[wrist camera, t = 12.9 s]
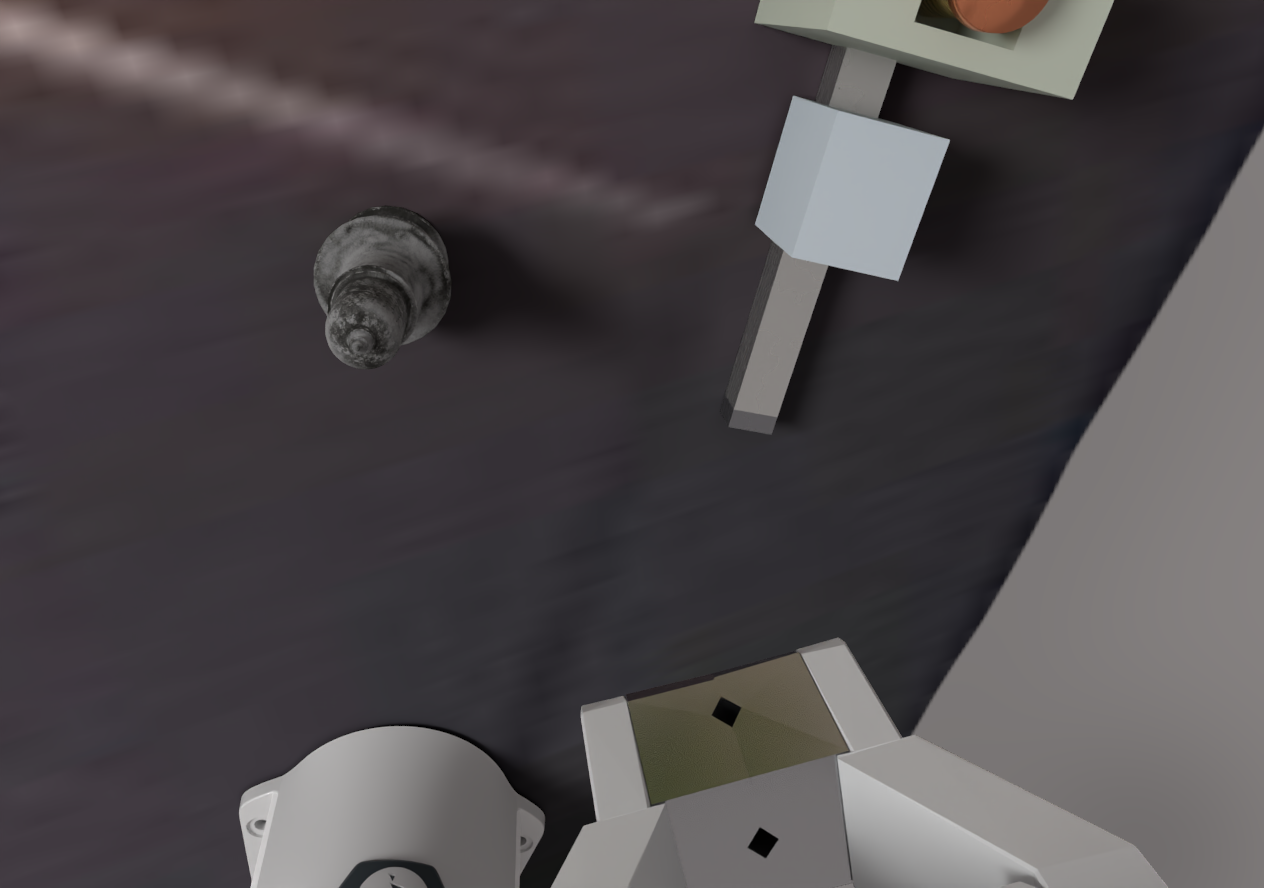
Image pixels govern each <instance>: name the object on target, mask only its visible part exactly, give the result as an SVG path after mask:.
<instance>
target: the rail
mask: <svg viewBox="0 0 1264 888" xmlns="http://www.w3.org/2000/svg"><path fill="white" fill-rule="evenodd" d="M896 62H897V61H896V60H893V59H889V58H886V57H882V56H878V55H875V54H871V53H868V52H864V51H861V50H857V49H853V48H850V47H845V46H838V45H832V47H831V51H830V54H829V57H828V60H827V64H826V67H825V70H824V74H823V77H822V80H821V83H820V87H819V90H818V93H817V96H816V100H815V102H818V103H821V104H824V105H828V106H831V107H835V108H839V109H843V110H847V111H850V112H854V113H858V114H862V115H866V116H869V117H873V118H877V119H878V116H879V113H880V110H881V107H882V104H883V101H884V98H885V95H886V92H887V89H888V86H889V83H890V80H891V77H892V74H893V71H894V68H895V65H896ZM827 268H828V265H824V264H820V263H815V262H811V261H806V260H802V259H797V258H792V257H791V256H790V255H788V254H787V253H786V252H785V251H784V250H783V249H782V248H780V247H779V246H778V245H777V244H776V243H775V242H774V241H773V240H772V243H771V246H770V250H769V253H768V256H767V259H766V263H765V266H764V269H763V272H762V276H761V279H760V282H759V285H758V289H757V292H756V295H755V298H754V302H753V305H752V308H751V311H750V315H749V318H748V321H747V324H746V328H745V331H744V334H743V338H742V341H741V344H740V347H739V351H738V354H737V357H736V360H735V364H734V367H733V370H732V373H731V377H730V380H729V383H728V386H727V390H726V393H725V396H724V399H723V403H722V406H721V409H720V412H721V414H722V416H723V418H724V420H725V422H726V424H727V425H728V427H731V428H737V429H743V430H749V431H754V432H760V433H766V434H772V432H773V429H774V426H775V423H776V420H777V417H778V414H779V411H780V408H781V405H782V402H783V399H784V396H785V393H786V390H787V387H788V384H789V381H790V378H791V375H792V372H793V369H794V366H795V363H796V360H797V357H798V354H799V351H800V348H801V345H802V342H803V339H804V336H805V333H806V330H807V327H808V324H809V321H810V318H811V315H812V312H813V310H814V307H815V304H816V301H817V298H818V295H819V292H820V289H821V286H822V283H823V280H824V277H825V274H826V271H827Z"/></svg>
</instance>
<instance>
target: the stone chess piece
mask: <svg viewBox="0 0 1264 888" xmlns="http://www.w3.org/2000/svg"><path fill="white" fill-rule="evenodd" d="M451 283H452V280H451V276H450V271H449V266H448V257H447V252H446V247H445V245H444V243H443V241H442V239H441V237H440V235H439V233H438V232H437V231H436V230H435V229H434V228H433V226H432V225H431V224H430V223H429V222H428V221H426V220H425V219H424V218H422V217H421V216H419V215H418V214H416V213H414V212H412V211H409V210H406V209H404V208H401V207H393V206H380V207H373V208H369V209H367V210H365V211H362V212H360V213H358V214H356V215H355V216H354V217H353V218H352V219H350V220H349V221H348V222H347V223H345V224H343V225H341V226H340V227H339V228H337V229H336V230H335V231H334V232H333V233H332V234H330V235H329V236H328V238H327V239H326V241H325V242H324V244H323V245H322V247H321V248H320V250H319V252H318V255H317V258H316V262H315V265H314V287H315V291H316V294H317V298H318V301H319V303H320V305H321V307H322V308H323V310H324V312H325V313H326V315H327V320H326V323H325V334H326V338H327V342H328V345H329V347H330V349H331V350H332V352H333V354H334V355H335V356H336V357H337V358H338V359H339V360H340V361H342V362H344V363H345V364H347V365H348V366H351V367H354V368H357V369H373V368H377V367H380V366H382V365H384V364H386V363H387V362H388V361H389V360H391V359H392V358H393V357H394V356H395V354H396V353H397V351H398V350H399V347H400V345H405V344H409V343H411V342H413V341H416V340H418V339H420V338H422V337H424V336H425V335H426V334H428V333H429V332H430V331H431V330H433V329H434V328H435V327H436V326H437V324H438V323H439V322H440V320H441V319H442V317H443V316H444V315H445V313H446V310H447V307H448V304H449V301H450V298H451Z"/></svg>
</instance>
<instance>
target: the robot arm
mask: <svg viewBox="0 0 1264 888" xmlns="http://www.w3.org/2000/svg"><path fill="white" fill-rule="evenodd" d="M626 696H627V700H626V697H625V696H621V697H617V698H613V699H609V700H605V701H601V702H596V703H592V704H588V705H584V706H582V707H581V722H582V728H583V735H584V741H585V748H586V754H587V761H588V768H589V774H590V781H591V787H592V794H593V800H594V807H595V813H596V820H597V822H595V823H591V824H588V825H585V826H583V828H582V829H581V831H580V833H579V835H578V837H577V839H576V841H575V843H574V845H573V846H572V848H571V850H570V852H569V854H568V856H567V858H566V860H565V862H564V863H563V865H562V867H561V869H560V871H559V873H558V875H557V877H556V879H555V880H554V882H553V884H552V886H551V888H834V887H838V886H842V885H846V884H850V883H853V884H854V887H855V888H1168V886H1167V885H1166V884H1165V883H1164V881H1163V880H1162V879H1161V878H1160V876H1159V875H1158V874H1157V873H1156V871H1155V870H1154V869H1153V868H1152V866H1151V865H1150V864H1149V863H1148V861H1147V860H1146V859H1145V857H1144V856H1143V855H1142V854H1141V853H1140V851H1139V850H1138V849H1137V847H1136V846H1135V845H1133V844H1131V843H1129V842H1127V841H1125V840H1123V839H1121V838H1119V837H1117V836H1115V835H1113V834H1111V833H1109V832H1107V831H1105V830H1103V829H1101V828H1099V827H1097V826H1095V825H1093V824H1091V823H1089V822H1087V821H1085V820H1083V819H1081V818H1079V817H1077V816H1075V815H1073V814H1072V813H1070V812H1067V811H1066V810H1064V809H1062V808H1060V807H1058V806H1056V805H1054V804H1052V803H1050V802H1048V801H1045V800H1044V799H1042V798H1040V797H1038V796H1036V795H1034V794H1032V793H1030V792H1028V791H1026V790H1024V789H1022V788H1020V787H1018V786H1016V785H1014V784H1012V783H1010V782H1008V781H1006V780H1004V779H1002V778H1000V777H998V776H996V775H994V774H992V773H990V772H988V771H986V770H984V769H983V768H981V767H979V766H977V765H974V764H973V763H970V762H969V761H967V760H965V759H962V758H961V757H959V756H957V755H955V754H953V753H951V752H949V751H947V750H945V749H943V748H941V747H939V746H937V745H935V744H933V743H931V742H929V741H927V740H925V739H923V738H921V737H919V736H917V735H913V736H909V737H906V738H902V736H901V735H900V733H899V731H898V730H897V728H896V726H895V725H894V723H893V721H892V720H891V718H890V716H889V715H888V713H887V711H886V710H885V708H884V706H883V705H882V703H881V701H880V700H879V698H878V696H877V695H876V693H875V691H874V690H873V688H872V686H871V685H870V683H869V681H868V680H867V678H866V676H865V675H864V673H863V671H862V670H861V668H860V666H859V665H858V663H857V661H856V660H855V658H854V656H853V655H852V653H851V651H850V650H849V648H848V646H847V645H846V643H845V642H844V641H842V640H841V639H839V638H835V639H832V640H828V641H825V642H821V643H818V644H814V645H811V646H808V647H804V648H801V649H797V650H796V652H794V651H793V652H789V653H785V654H782V655H778V656H774V657H771V658H767V659H764V660H760V661H756V662H753V663H749V664H745V665H742V666H738V667H734V668H731V669H727V670H723V671H720V672H716V673H712V674H709V675H705V676H700V677H696V678H692V679H688V680H684V681H680V682H676V683H671V684H667V685H663V686H659V687H655V688H651V689H647V690H642V691H638V692H634V693H630V694H626ZM627 701H628V703H627ZM628 705H629V707H628ZM239 818H240V823H241V828H242V833H243V838H244V843H245V848H246V854H247V859H248V864H249V869H250V874H251V879H252V884H251V888H519V886H520V874H521V873H522V871H523V869H524V867H525V866H526V864H527V862H528V860H529V858H530V857H531V855H532V853H533V851H534V850H535V848H536V846H537V844H538V842H539V841H540V839H541V837H542V835H543V833H544V827H545V815H544V813H543V812H542V810H541V809H540V808H538V807H537V806H536V805H535V804H533V803H532V802H530V801H529V800H527V799H526V798H524V797H522V796H521V795H519V794H517V793H516V792H515V790H514V789H513V788H512V787H511V785H510V784H509V782H508V780H507V779H506V777H505V775H504V774H503V772H502V771H501V769H500V768H499V767H498V765H497V764H496V763H495V762H494V761H493V760H492V759H491V758H490V757H489V756H488V755H487V754H485V753H484V752H483V751H482V750H480V749H479V748H477V747H476V746H474V745H472V744H471V743H469V742H467V741H465V740H463V739H461V738H458V737H456V736H453V735H451V734H448V733H444V732H441V731H437V730H433V729H427V728H421V727H411V726H388V727H378V728H371V729H366V730H361V731H358V732H354V733H351V734H348V735H345V736H342V737H339V738H337V739H335V740H333V741H331V742H328V743H326V744H325V745H323V746H321V747H320V748H318V749H316V750H315V751H313V752H312V753H311V754H309V755H308V756H307V757H306V758H305V759H304V760H302V761H301V762H300V763H299V764H298V765H297V766H296V767H294V768H293V769H292V770H291V771H289V772H288V773H286V774H285V775H283V776H281V777H278V778H275V779H272V780H269V781H267V782H264V783H261V784H259V785H257V786H254V787H252V788H250V789H249V790H247V791H246V792H245V793H244V794H243V795H242V797H241V802H240V808H239Z"/></svg>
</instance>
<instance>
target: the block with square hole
mask: <svg viewBox="0 0 1264 888" xmlns="http://www.w3.org/2000/svg"><path fill="white" fill-rule="evenodd" d="M1113 2H1114V0H1049V1H1048V2H1047V4H1046V5H1045V7H1044V8H1043V9H1042V11H1041V12H1040V13H1039V14H1038V15H1037V16H1036V17H1035V18H1034V19H1033V20H1032V21H1030V22H1029V23H1027V24H1026V25H1024V26H1023V27H1021V28H1019V29H1017V30H1014V31H1011V32H1007V33H984V32H978V31H974V30H971V29H969V28H967V27H966V26H964V25H963V24H962V23H961V22H959V21H958V19H956V18H935V17H924V16H920V15H918V14H917V12H918V9H919V6H920V3H921V0H760V4H759V8H758V11H757V15H756V19H755V22H754V23H757V24H760V25H764V26H767V27H771V28H774V29H778V30H782V31H785V32H789V33H792V34H796V35H799V36H803V37H807V38H810V39H814V40H817V41H821V42H824V43H828V44H832V45H838V46H845V47H850V48H853V49H857V50H861V51H864V52H868V53H871V54H875V55H878V56H882V57H886V58H889V59H893V60H896V61H897V62H896V63H900V64H903V65H907V66H910V67H914V68H917V69H921V70H925V71H928V72H932V73H935V74H939V75H942V76H946V77H950V78H953V79H959V80H964V81H970V82H976V83H981V84H987V85H993V86H998V87H1004V88H1010V89H1015V90H1021V91H1026V92H1032V93H1038V94H1043V95H1049V96H1055V97H1060V98H1066V99H1072V100H1073V98H1074V96H1075V93H1076V91H1077V89H1078V86H1079V84H1080V81H1081V79H1082V77H1083V74H1084V72H1085V69H1086V67H1087V65H1088V62H1089V60H1090V57H1091V55H1092V52H1093V50H1094V48H1095V45H1096V43H1097V40H1098V38H1099V36H1100V33H1101V31H1102V28H1103V26H1104V24H1105V21H1106V19H1107V16H1108V14H1109V12H1110V9H1111V7H1112V4H1113Z"/></svg>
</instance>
